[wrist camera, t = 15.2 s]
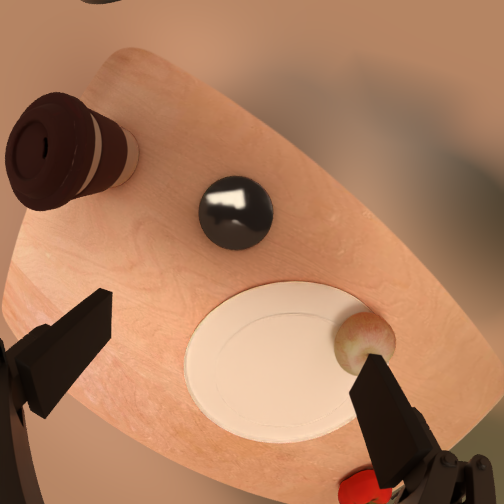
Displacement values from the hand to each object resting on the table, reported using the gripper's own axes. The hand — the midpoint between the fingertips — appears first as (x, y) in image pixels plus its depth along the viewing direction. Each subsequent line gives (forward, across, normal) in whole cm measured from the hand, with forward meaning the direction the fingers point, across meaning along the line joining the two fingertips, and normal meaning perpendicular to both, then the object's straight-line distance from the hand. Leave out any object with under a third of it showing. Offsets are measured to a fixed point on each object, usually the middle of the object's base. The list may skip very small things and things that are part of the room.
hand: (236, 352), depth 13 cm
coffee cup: (+20, -19, +7) cm, 28 cm away
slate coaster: (+20, -3, +4) cm, 20 cm away
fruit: (+20, +15, -7) cm, 26 cm away
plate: (+20, +9, -16) cm, 27 cm away
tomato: (+19, +34, -41) cm, 57 cm away
